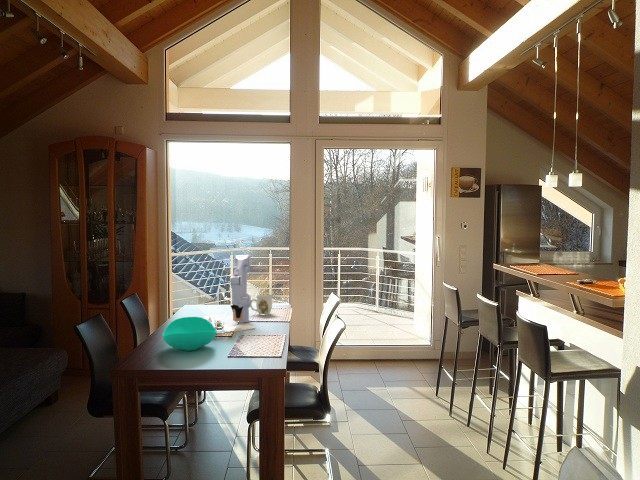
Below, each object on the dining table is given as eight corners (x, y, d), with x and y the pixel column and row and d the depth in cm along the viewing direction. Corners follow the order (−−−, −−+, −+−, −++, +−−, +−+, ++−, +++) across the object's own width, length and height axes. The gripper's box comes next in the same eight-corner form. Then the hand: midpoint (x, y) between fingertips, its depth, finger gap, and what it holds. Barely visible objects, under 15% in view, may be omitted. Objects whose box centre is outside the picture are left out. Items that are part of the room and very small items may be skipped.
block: (233, 320, 308) (233, 309, 308) (240, 319, 310) (239, 308, 310) (235, 321, 304) (235, 310, 304) (242, 320, 306) (242, 309, 306)
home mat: (219, 328, 309) (219, 327, 309) (246, 324, 318) (246, 323, 318) (227, 332, 297) (227, 331, 297) (255, 328, 306) (255, 327, 306)
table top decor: (219, 357, 248) (218, 330, 247) (161, 362, 240) (160, 335, 239) (214, 337, 286) (213, 315, 285) (164, 341, 278) (163, 318, 277)
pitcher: (251, 313, 354) (250, 294, 353) (276, 312, 355) (275, 293, 354) (249, 316, 343) (248, 296, 342) (275, 315, 344) (274, 296, 343)
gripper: (246, 296, 302) (247, 318, 302) (238, 293, 314) (239, 314, 315) (235, 297, 298) (236, 319, 299) (228, 294, 311) (228, 315, 312)
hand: (237, 317), depth 307 cm, fingers closed on block, 4 cm apart
